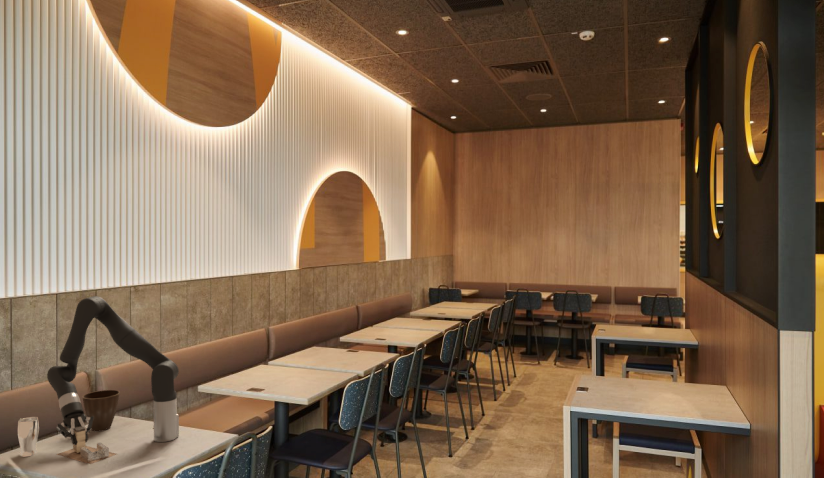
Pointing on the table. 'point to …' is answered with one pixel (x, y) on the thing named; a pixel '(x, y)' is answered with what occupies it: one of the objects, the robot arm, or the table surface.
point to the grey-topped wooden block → (79, 438)
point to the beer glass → (28, 435)
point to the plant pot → (101, 408)
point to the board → (77, 456)
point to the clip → (95, 453)
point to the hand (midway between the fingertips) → (81, 442)
